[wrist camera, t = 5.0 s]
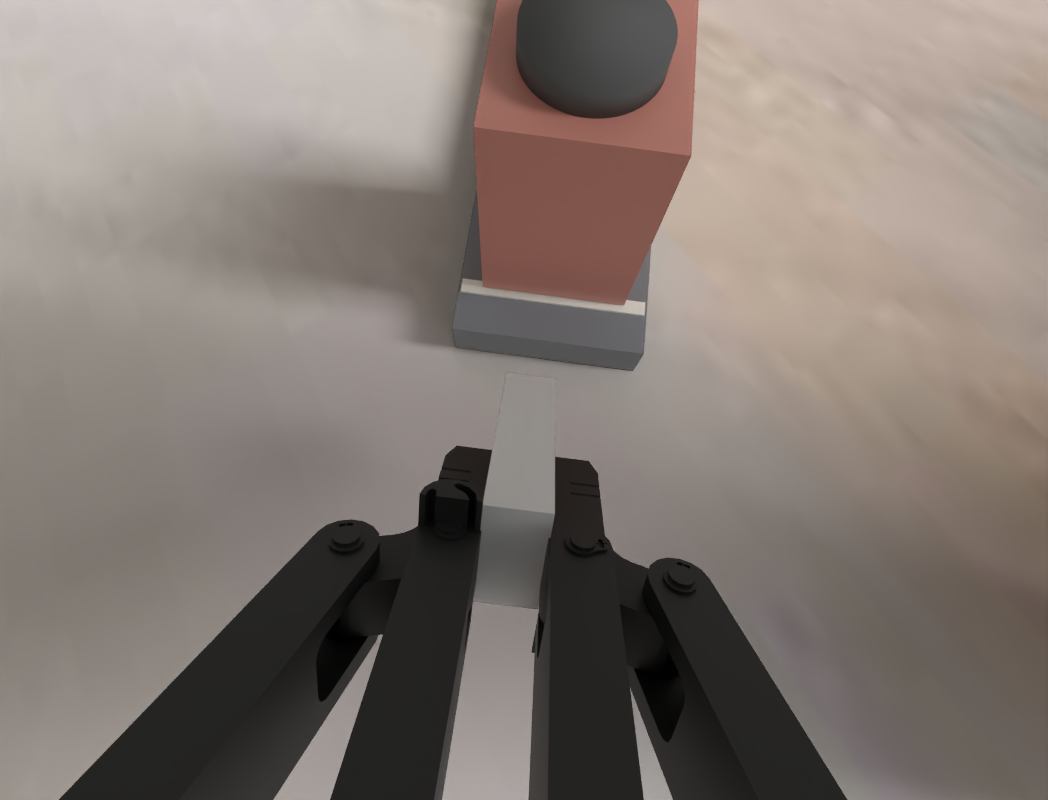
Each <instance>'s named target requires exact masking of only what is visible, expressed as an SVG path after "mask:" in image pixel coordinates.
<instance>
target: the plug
mask: <svg viewBox="0 0 1048 800" xmlns="http://www.w3.org/2000/svg"><path fill="white" fill-rule="evenodd" d="M697 21H698V0H497V4H496V9H495V14H494V20H493V25H492V30H491V36H490V41H489V46H488V51H487V57H486V62H485V67H484V73H483V78H482V83H481V89H480V94H479V99H478V105H477V110H476V115H475V121H474V126H473V130H474V147H475V164H476V181H477V198H478V214H479V231H480V248H481V265H482V282H483V287H490V288H498V289H505V290H513V291H520V292H528V293H536V294H543V295H551V296H558V297H566V298H574V299H581V300H589V301H596V302H604V303H611V304H619V305H624V304H625V302H626V300H627V298H628V296H629V293H630V291H631V289H632V287H633V284H634V282H635V280H636V278H637V275H638V273H639V271H640V269H641V267H642V264H643V262H644V260H645V258H646V255H647V253H648V251H649V249H650V246H651V244H652V242H653V240H654V238H655V235H656V233H657V231H658V229H659V226H660V224H661V222H662V220H663V217H664V215H665V213H666V211H667V209H668V206H669V204H670V202H671V200H672V197H673V195H674V193H675V191H676V188H677V186H678V184H679V182H680V180H681V177H682V175H683V173H684V171H685V168H686V166H687V164H688V162H689V160H690V157H691V149H692V128H693V107H694V85H695V64H696V43H697Z"/></svg>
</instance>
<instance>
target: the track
mask: <svg viewBox="0 0 1048 800" xmlns="http://www.w3.org/2000/svg"><path fill="white" fill-rule="evenodd" d="M650 253H651V246H650V249H649V251H648V253H647V255H646V258H645V260H644V262H643V264H642V267H641V269H640V271H639V273H638V275H637V278H636V280H635V282H634V284H633V287H632V289H631V291H630V293H629V296H628V298H627V300H626V302H625V304H624V305H619V304H611V303H604V302H596V301H589V300H581V299H574V298H566V297H558V296H551V295H543V294H536V293H528V292H520V291H513V290H505V289H498V288H490V287H483V282H482V265H481V248H480V231H479V214H478V198H477V191H476V196H475V202H474V207H473V213H472V219H471V224H470V230H469V235H468V241H467V247H466V252H465V258H464V263H463V269H462V275H461V280H460V286H459V291H458V297H457V303H456V308H455V314H454V319H453V325H452V332H453V337H454V342H455V347H458V348H465V349H473V350H481V351H488V352H496V353H503V354H511V355H518V356H526V357H534V358H541V359H549V360H556V361H564V362H571V363H579V364H587V365H594V366H602V367H609V368H617V369H625V370H632V371H633V370H634V368H635V367H636V365H637V364H638V362H639V360H640V359H641V357H642V356H643V354H644V341H645V327H646V312H647V297H648V283H649V268H650Z"/></svg>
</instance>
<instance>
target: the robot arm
mask: <svg viewBox="0 0 1048 800" xmlns="http://www.w3.org/2000/svg"><path fill="white" fill-rule="evenodd" d="M473 601H475V602H483V603H491V604H500V605H508V606H516V607H524V608H532V609H538V606H539V614H538V619H537V625H536V630H535V636H534V641H533V647H532V652H533V653H535V661H534V685H533V709H532V733H531V756H530V780H529V800H644V799H643V791H642V782H641V774H640V766H639V758H638V750H637V742H636V734H635V725H634V717H633V709H632V701H631V693H630V688H631V690H632V693H633V695H634V698H635V701H636V703H637V706H638V709H639V711H640V714H641V716H642V719H643V722H644V724H645V727H646V730H647V732H648V735H649V737H650V740H651V743H652V745H653V748H654V751H655V753H656V756H657V758H658V761H659V764H660V766H661V769H662V771H663V774H664V777H665V779H666V782H667V785H668V787H669V790H670V792H671V795H672V798H673V800H847V798H846V797H845V795H844V794H843V792H842V790H841V789H840V787H839V786H838V784H837V782H836V781H835V779H834V778H833V776H832V774H831V773H830V771H829V770H828V768H827V766H826V765H825V763H824V762H823V760H822V758H821V757H820V755H819V754H818V752H817V750H816V749H815V747H814V746H813V744H812V742H811V741H810V739H809V738H808V736H807V734H806V733H805V731H804V730H803V728H802V726H801V725H800V723H799V722H798V720H797V718H796V717H795V715H794V714H793V712H792V710H791V709H790V707H789V706H788V704H787V702H786V701H785V699H784V698H783V696H782V694H781V693H780V691H779V689H778V688H777V686H776V685H775V683H774V681H773V680H772V678H771V677H770V675H769V673H768V672H767V670H766V669H765V667H764V665H763V664H762V662H761V661H760V659H759V657H758V656H757V654H756V653H755V651H754V649H753V648H752V646H751V645H750V643H749V641H748V640H747V638H746V637H745V635H744V633H743V632H742V630H741V629H740V627H739V625H738V624H737V622H736V621H735V619H734V617H733V616H732V614H731V613H730V611H729V609H728V608H727V606H726V605H725V603H724V601H723V600H722V598H721V597H720V595H719V593H718V592H717V590H716V589H715V587H714V585H713V584H712V582H711V580H710V579H709V578H708V577H707V576H706V574H705V573H704V572H703V571H702V570H701V569H699V568H698V567H696V566H695V565H693V564H692V563H689V562H686V561H684V560H681V559H675V558H664V559H659V560H656V561H655V562H654V563H652V564H651V565H650V567H649V569H648V568H645V567H643V566H640V565H637V564H635V563H632V562H630V561H628V560H626V559H624V558H622V557H621V556H619V555H618V554H616V553H615V552H614V551H613V548H612V546H611V543H610V541H609V540H608V539H607V538H606V537H605V534H604V525H603V516H602V507H601V499H600V490H599V481H598V473H597V472H596V470H595V469H594V468H593V466H592V465H591V464H590V462H589V461H584V460H576V459H568V458H560V457H555V378H547V377H539V376H531V375H524V374H516V373H508V372H507V373H506V378H505V384H504V389H503V395H502V400H501V406H500V411H499V417H498V422H497V428H496V433H495V438H494V444H493V449H492V450H486V449H478V448H470V447H462V446H456V447H455V448H454V449H452V450H451V451H450V452H449V453H448V454H447V455H446V456H445V459H444V462H443V466H442V470H441V472H440V475H439V480H438V481H435V482H432V483H431V484H429V485H427V486H426V487H424V489H423V490H422V491H421V493H420V498H419V522H418V526H417V527H416V528H414V529H412V530H410V531H407V532H404V533H400V534H395V535H386V536H379V533H378V532H377V530H376V529H375V528H374V527H373V526H372V525H370V524H368V523H366V522H364V521H358V520H342V521H337V522H334V523H331V524H328V525H326V526H325V527H323V528H322V529H321V530H319V531H318V532H317V533H316V534H315V535H314V536H313V537H312V538H311V539H310V540H309V541H308V542H307V543H306V544H305V545H304V546H303V547H302V548H301V549H300V550H299V551H298V553H297V554H296V555H295V556H294V557H293V558H292V559H291V560H290V561H289V562H288V563H287V564H286V565H285V566H284V567H283V568H282V569H281V570H280V571H279V572H278V573H277V574H276V575H275V576H274V577H273V578H272V579H271V580H270V582H269V583H268V584H267V585H266V586H265V587H264V588H263V589H262V590H261V591H260V592H259V593H258V594H257V595H256V596H255V597H254V598H253V599H252V600H251V601H250V602H249V603H248V604H247V605H246V606H245V607H244V608H243V609H242V611H241V612H240V613H239V614H238V615H237V616H236V617H235V618H234V619H233V620H232V621H231V622H230V623H229V624H228V625H227V626H226V627H225V628H224V629H223V630H222V631H221V632H220V633H219V634H218V635H217V636H216V637H215V638H214V640H213V641H212V642H211V643H210V644H209V645H208V646H207V647H206V648H205V649H204V650H203V651H202V652H201V653H200V654H199V655H198V656H197V657H196V658H195V659H194V660H193V661H192V662H191V663H190V664H189V665H188V666H187V667H186V669H185V670H184V671H183V672H182V673H181V674H180V675H179V676H178V677H177V678H176V679H175V680H174V681H173V682H172V683H171V684H170V685H169V686H168V687H167V688H166V689H165V690H164V691H163V692H162V693H161V694H160V695H159V696H158V698H157V699H156V700H155V701H154V702H153V703H152V704H151V705H150V706H149V707H148V708H147V709H146V710H145V711H144V712H143V713H142V714H141V715H140V716H139V717H138V718H137V719H136V720H135V721H134V722H133V723H132V724H131V725H130V727H129V728H128V729H127V730H126V731H125V732H124V733H123V734H122V735H121V736H120V737H119V738H118V739H117V740H116V741H115V742H114V743H113V744H112V745H111V746H110V747H109V748H108V749H107V750H106V751H105V752H104V753H103V754H102V756H101V757H100V758H99V759H98V760H97V761H96V762H95V763H94V764H93V765H92V766H91V767H90V768H89V769H88V770H87V771H86V772H85V773H84V774H83V775H82V776H81V777H80V778H79V779H78V780H77V781H76V782H75V783H74V785H73V786H72V787H71V788H70V789H69V790H68V791H67V792H66V793H65V794H64V795H63V796H62V797H61V798H60V799H59V800H273V799H274V798H275V796H276V795H277V793H278V791H279V790H280V788H281V787H282V785H283V784H284V782H285V781H286V779H287V778H288V776H289V775H290V773H291V771H292V770H293V768H294V767H295V765H296V764H297V762H298V761H299V759H300V758H301V756H302V754H303V753H304V751H305V750H306V748H307V747H308V745H309V744H310V742H311V741H312V739H313V738H314V736H315V734H316V733H317V731H318V730H319V728H320V727H321V725H322V724H323V722H324V721H325V719H326V717H327V716H328V714H329V713H330V711H331V710H332V708H333V707H334V705H335V704H336V702H337V701H338V699H339V697H340V696H341V694H342V693H343V691H344V690H345V688H346V687H347V685H348V684H349V682H350V681H351V679H352V677H353V676H354V674H355V673H356V671H357V670H358V668H359V667H360V665H361V664H362V662H363V660H364V659H365V657H366V656H367V654H368V653H369V651H370V650H371V648H372V647H373V645H374V644H375V642H376V640H377V637H378V635H379V634H383V637H382V640H381V643H380V646H379V649H378V653H377V656H376V659H375V662H374V665H373V668H372V671H371V674H370V677H369V681H368V684H367V687H366V690H365V693H364V696H363V699H362V702H361V705H360V709H359V712H358V715H357V718H356V721H355V724H354V727H353V730H352V733H351V737H350V740H349V743H348V746H347V749H346V752H345V755H344V758H343V762H342V765H341V768H340V771H339V774H338V777H337V780H336V783H335V786H334V790H333V793H332V796H331V799H330V800H442V795H443V789H444V783H445V777H446V770H447V764H448V758H449V752H450V746H451V739H452V733H453V727H454V721H455V715H456V708H457V702H458V696H459V690H460V684H461V677H462V671H463V665H464V659H465V653H466V646H467V640H468V634H469V628H470V622H471V613H472V604H473Z"/></svg>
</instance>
